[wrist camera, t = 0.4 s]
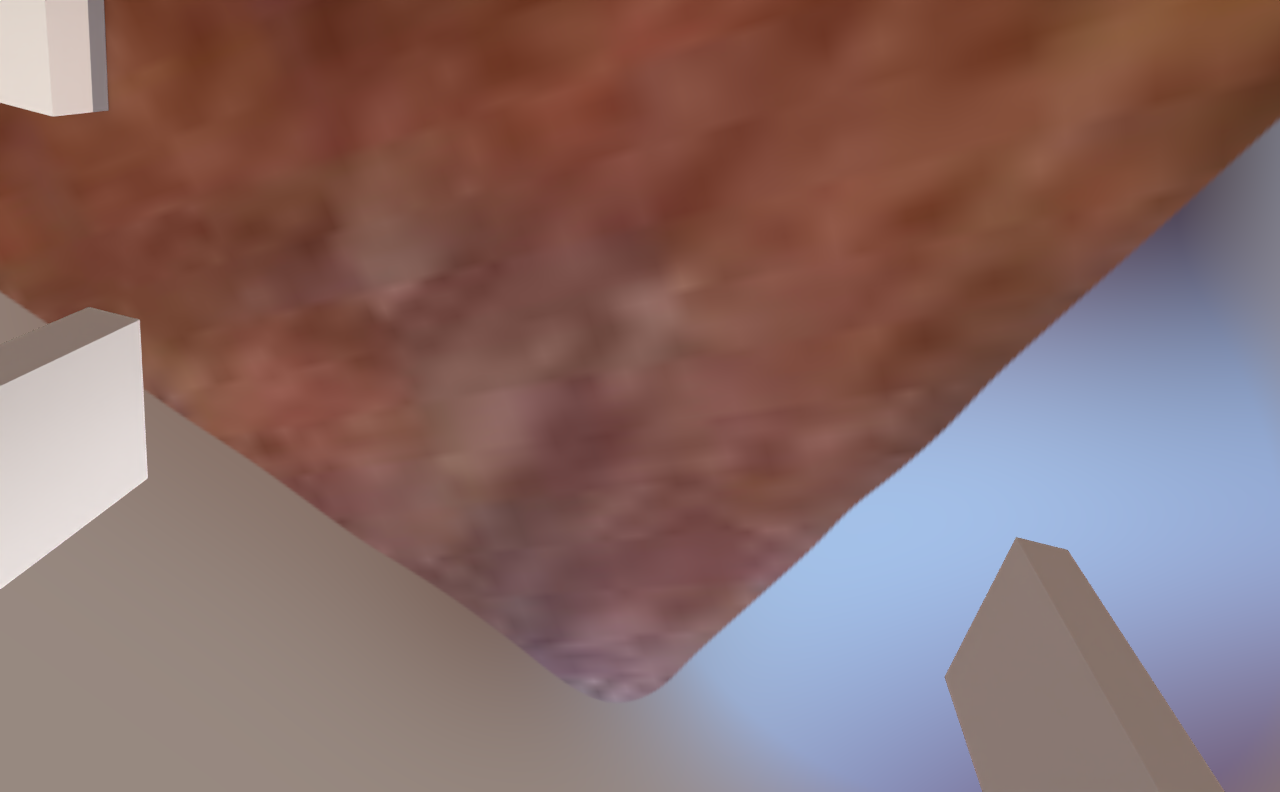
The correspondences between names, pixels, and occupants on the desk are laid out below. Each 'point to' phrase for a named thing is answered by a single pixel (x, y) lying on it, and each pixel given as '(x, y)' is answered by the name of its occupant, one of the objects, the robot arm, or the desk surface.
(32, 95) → the console
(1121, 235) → the desk surface
